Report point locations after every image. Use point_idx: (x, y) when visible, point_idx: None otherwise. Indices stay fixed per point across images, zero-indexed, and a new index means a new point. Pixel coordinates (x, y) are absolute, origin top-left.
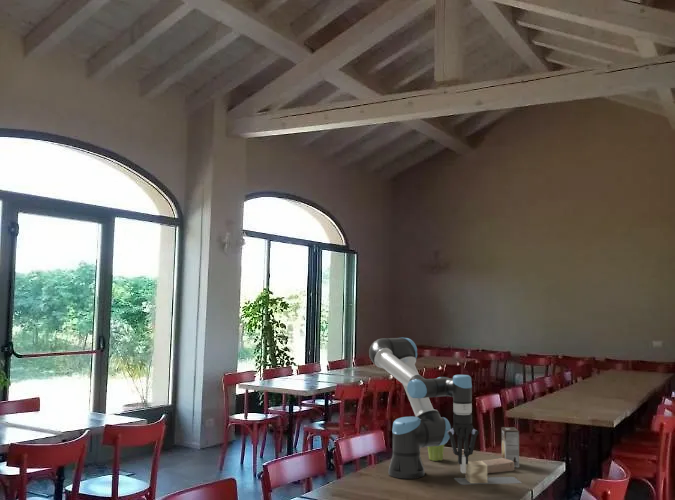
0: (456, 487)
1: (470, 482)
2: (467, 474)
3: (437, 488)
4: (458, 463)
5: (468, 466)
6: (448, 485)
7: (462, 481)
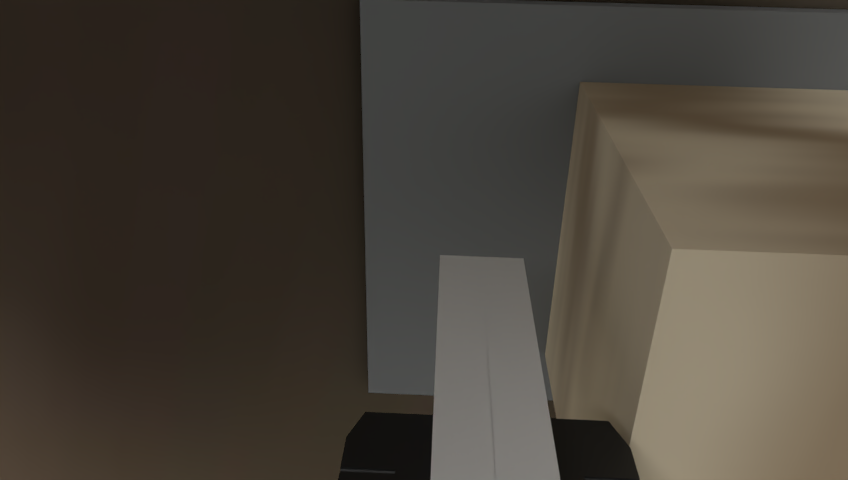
0: (289, 447)
1: (546, 362)
2: (579, 265)
3: (29, 455)
4: (364, 413)
5: None
6: (193, 356)
7: (452, 252)
